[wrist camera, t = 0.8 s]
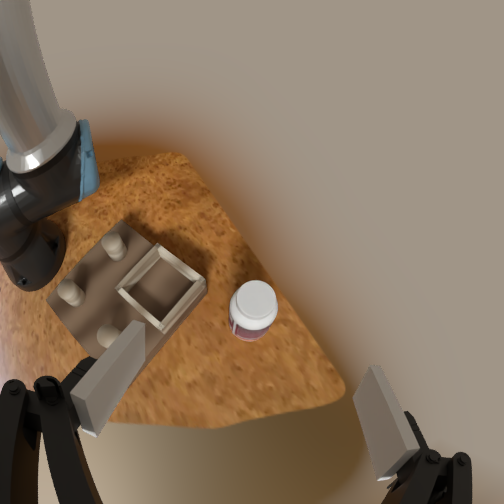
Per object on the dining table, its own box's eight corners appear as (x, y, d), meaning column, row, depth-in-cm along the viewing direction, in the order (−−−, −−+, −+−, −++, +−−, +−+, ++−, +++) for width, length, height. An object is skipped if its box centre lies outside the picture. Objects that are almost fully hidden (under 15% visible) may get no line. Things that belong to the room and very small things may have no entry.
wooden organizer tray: (54, 305, 38) (33, 290, 32) (125, 228, 47) (114, 205, 41) (127, 388, 34) (110, 386, 28) (207, 292, 43) (204, 274, 37)
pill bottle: (277, 323, 42) (293, 300, 32) (248, 350, 39) (256, 335, 30) (249, 295, 44) (257, 264, 34) (220, 320, 41) (219, 296, 32)
